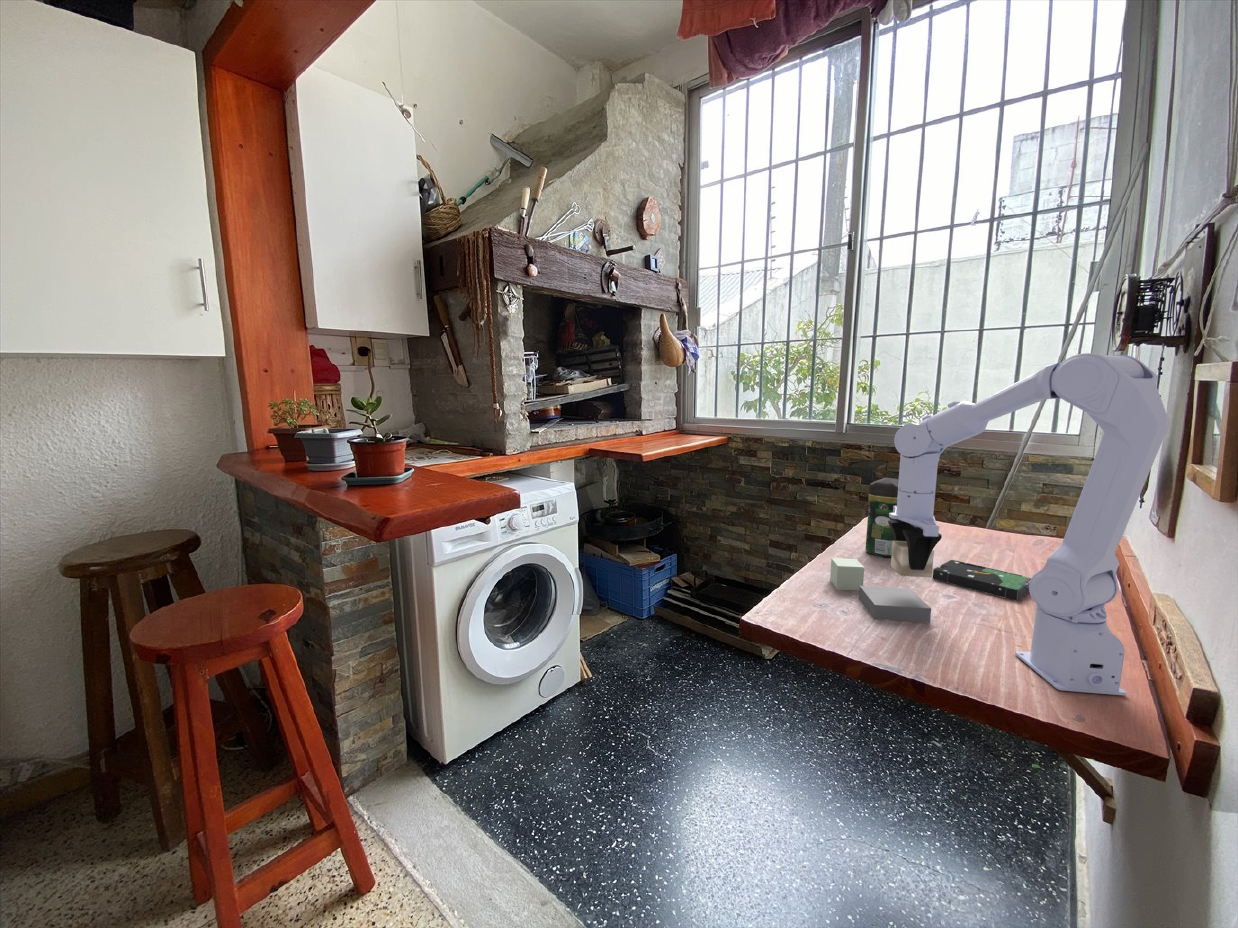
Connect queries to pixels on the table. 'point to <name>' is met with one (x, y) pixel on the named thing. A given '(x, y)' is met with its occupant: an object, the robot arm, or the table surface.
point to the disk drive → (983, 579)
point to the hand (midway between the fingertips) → (910, 563)
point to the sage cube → (846, 573)
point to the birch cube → (902, 561)
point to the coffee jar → (881, 516)
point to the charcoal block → (894, 604)
